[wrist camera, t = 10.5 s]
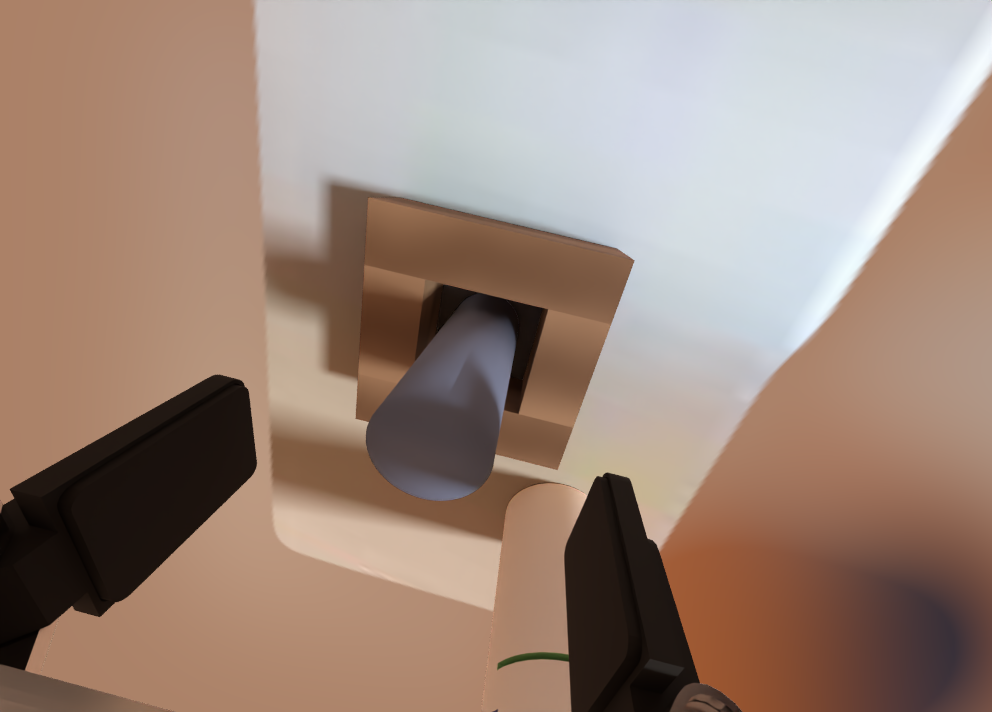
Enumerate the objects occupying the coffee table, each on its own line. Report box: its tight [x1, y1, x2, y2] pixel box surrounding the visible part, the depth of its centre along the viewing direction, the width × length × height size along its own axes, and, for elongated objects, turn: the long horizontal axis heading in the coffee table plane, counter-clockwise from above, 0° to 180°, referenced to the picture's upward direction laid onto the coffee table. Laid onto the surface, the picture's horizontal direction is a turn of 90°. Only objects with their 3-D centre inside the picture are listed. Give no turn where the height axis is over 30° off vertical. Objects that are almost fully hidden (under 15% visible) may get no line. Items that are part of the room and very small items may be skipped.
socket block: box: [356, 197, 634, 470], centre depth 20 cm, size 12×12×4 cm
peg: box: [366, 293, 519, 501], centre depth 16 cm, size 4×4×12 cm
